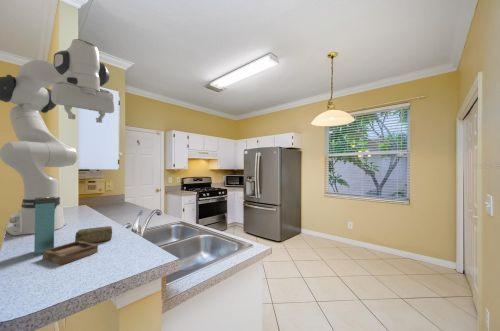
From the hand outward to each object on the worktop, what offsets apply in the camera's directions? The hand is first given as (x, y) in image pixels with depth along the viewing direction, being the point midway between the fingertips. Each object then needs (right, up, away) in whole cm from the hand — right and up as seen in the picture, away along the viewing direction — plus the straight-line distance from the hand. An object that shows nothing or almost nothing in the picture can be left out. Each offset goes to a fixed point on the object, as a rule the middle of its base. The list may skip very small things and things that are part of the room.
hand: (86, 120), depth 83 cm
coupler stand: (+7, -47, -15) cm, 49 cm away
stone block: (+4, -47, -1) cm, 47 cm away
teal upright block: (-5, -47, -12) cm, 48 cm away
